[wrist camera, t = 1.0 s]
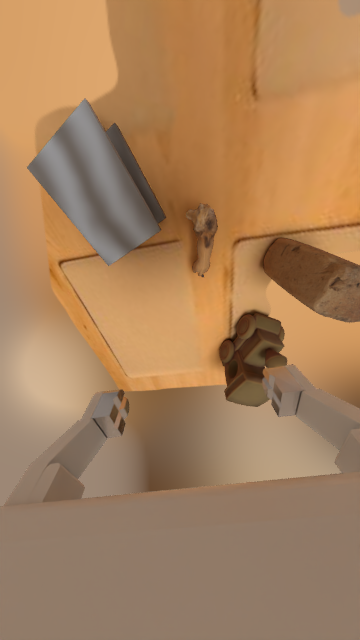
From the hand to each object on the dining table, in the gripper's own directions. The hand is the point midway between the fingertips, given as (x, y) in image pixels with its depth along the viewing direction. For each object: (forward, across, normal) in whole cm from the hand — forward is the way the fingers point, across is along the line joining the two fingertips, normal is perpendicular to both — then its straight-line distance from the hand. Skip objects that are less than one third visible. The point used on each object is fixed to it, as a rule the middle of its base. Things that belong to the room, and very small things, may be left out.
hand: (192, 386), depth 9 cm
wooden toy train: (+36, -16, +24) cm, 46 cm away
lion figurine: (+32, -5, -6) cm, 33 cm away
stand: (+32, +10, -16) cm, 37 cm away
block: (+32, -24, +1) cm, 40 cm away
